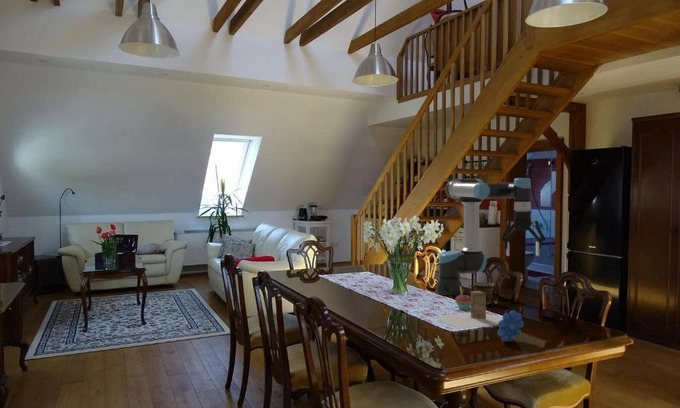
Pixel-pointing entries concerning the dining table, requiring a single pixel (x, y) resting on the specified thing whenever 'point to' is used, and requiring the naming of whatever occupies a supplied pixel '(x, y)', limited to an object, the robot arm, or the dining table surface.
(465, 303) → the cupcake
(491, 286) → the ceramic cup
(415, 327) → the dining table surface
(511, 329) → the grapes
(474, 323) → the felt mat
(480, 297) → the walnut block
